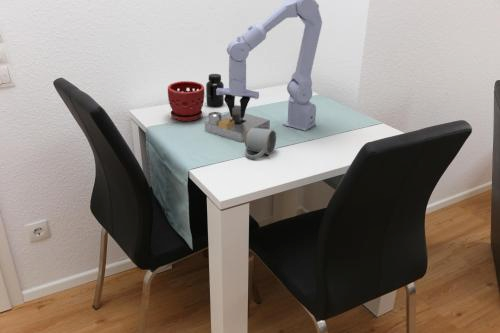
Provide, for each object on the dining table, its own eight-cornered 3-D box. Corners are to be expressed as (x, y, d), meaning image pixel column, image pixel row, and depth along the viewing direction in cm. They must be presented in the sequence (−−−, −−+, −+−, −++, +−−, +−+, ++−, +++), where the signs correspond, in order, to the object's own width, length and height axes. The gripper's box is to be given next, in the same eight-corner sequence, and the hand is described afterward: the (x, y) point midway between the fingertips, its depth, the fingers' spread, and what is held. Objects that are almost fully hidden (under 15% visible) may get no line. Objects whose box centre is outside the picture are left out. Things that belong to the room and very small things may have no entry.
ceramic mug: (252, 144, 153) (253, 122, 149) (276, 149, 150) (277, 126, 146) (238, 157, 144) (238, 134, 141) (263, 162, 141) (263, 139, 138)
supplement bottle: (204, 106, 185) (202, 76, 180) (210, 101, 191) (209, 72, 186) (220, 108, 183) (219, 78, 178) (226, 103, 189) (225, 73, 184)
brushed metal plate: (269, 127, 166) (270, 111, 163) (241, 142, 154) (241, 125, 152) (233, 118, 174) (233, 102, 172) (205, 130, 163) (204, 114, 160)
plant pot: (163, 121, 171) (160, 89, 165) (179, 109, 182) (177, 79, 177) (196, 125, 167) (194, 93, 162) (210, 113, 178) (209, 82, 173)
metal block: (243, 125, 165) (243, 106, 162) (240, 128, 162) (240, 108, 159) (234, 124, 165) (234, 105, 162) (232, 127, 163) (232, 107, 160)
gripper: (261, 76, 158) (260, 114, 164) (220, 72, 161) (221, 110, 167) (256, 82, 152) (255, 121, 158) (213, 78, 155) (214, 117, 161)
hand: (237, 116), depth 162 cm, fingers closed on metal block, 3 cm apart
